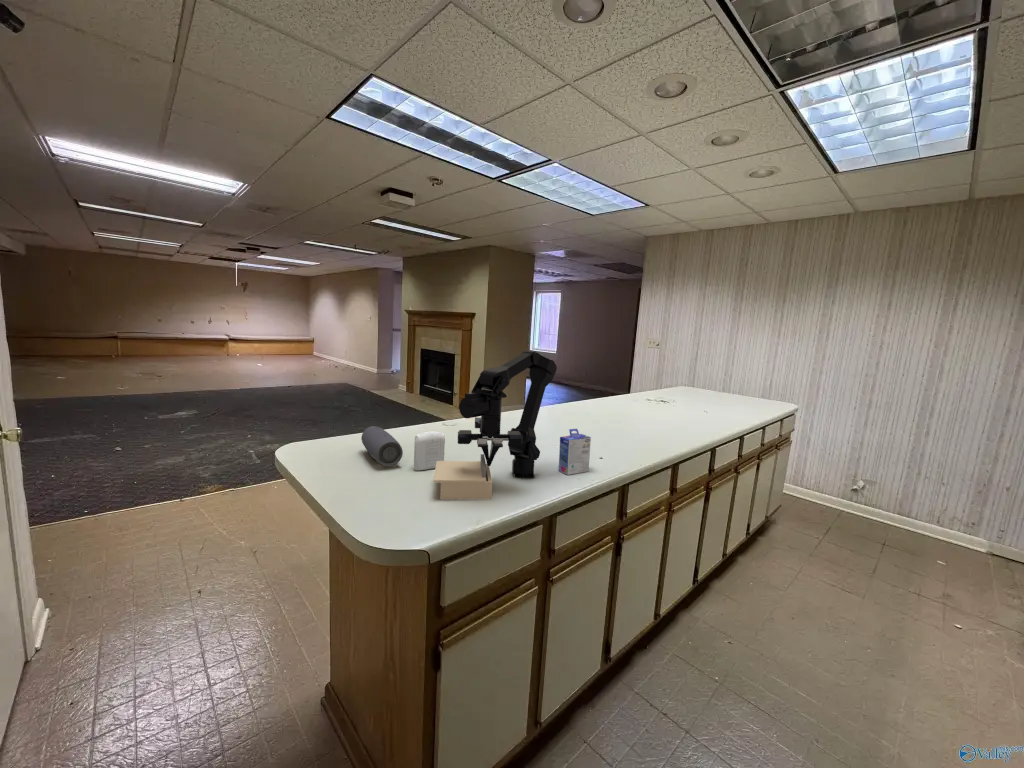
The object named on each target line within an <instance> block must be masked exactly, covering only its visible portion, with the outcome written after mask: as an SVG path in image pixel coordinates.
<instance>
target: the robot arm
mask: <svg viewBox="0 0 1024 768" xmlns="http://www.w3.org/2000/svg"><path fill="white" fill-rule="evenodd" d="M555 362H556V361H554V360H553V359H550V358H547V357H546V356H543V355H541V354H540V353H539V352H537V351H535V350H524V351H522V353H520V354H519V355H518V356H515V357H514V358H512V359H511V360H509V361H507V362H506V363H504V364H502V365H500V366H494V367H490V368H487V369H483V370H482V371H481V372H480V374H479V377H478V379H477V380H476V381H475V384H474V386H473V387H472V389H471V392H465V393H464V397H463V398H462V399H461V400H460V403H459V404H458V409H459V413H460V415H461V417H463V418H464V419H473V418H474V429H479V433H473V432H472V429H459V430H458V432H457V444H458V445H469V444H471V443H472V441H476V444H477V448H481V450H482V452H483V454H484V457H485V462H486V464H487V466H489V467H491V466H492V463H493V461H494V459H495V456H496V455H497V452H498V451H499V449H500V448H504V445H503V443H504V442H506V441H508V442H507V446H508V450H509V455H510V456H514V458H513V459H512V461H511V463H512V464H511V472H512V475H513V476H514V478H517V479H518V478H521V479H525V478H527V479H528V478H529V479H530V478H535V476H536V475H535V474H534V471H535V461H537V460H538V459H539V458H540V455H541V450H540V449H539V448H538V446H537V444H536V443H537V436H536V432H535V426H536V423H537V418H538V415H539V412H540V408H541V405H542V402H543V398H544V394H545V390H546V388H547V387H548V385H550V383H552V382H553V379H554V377H555V375H556V372H557V369H558V367H557V364H556V363H555ZM527 369H528V370H529V373H528V376H529V379H530V387H529V390H528V393H527V396H526V400H525V404H524V407H523V409H522V415H521V417H520V420H519V423H518V425H517V426H516V427H515V428H514V427H512V428H511V429H510V430H507V433H501V424H502V423H501V421H502V417H501V416H502V402H503V401H502V399H504V398H507V396H508V395H507V394H506V393H505V392H504V390H505V389H506V388H507V387H508V386H509V385H510V382H511V380H512V379H513V378H515V377H516V376H517V375H519V374H521V373H522V372H524V371H526V370H527ZM488 441H490V442H491V443H490V451H489V444H488Z"/></svg>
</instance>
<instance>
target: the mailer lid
mask: <svg viewBox="0 0 1024 768" xmlns="http://www.w3.org/2000/svg"><path fill="white" fill-rule="evenodd" d="M486 464H487V462H486V458H485V455H484V453H481V454H480V460H479V461H475V460H474V461H472V460H471V461H468V460H467V461H466V460H463V461H462V460H444V461H437V462H436V468H434V475H433V483H441V482H464V483H486Z"/></svg>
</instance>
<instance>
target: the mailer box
mask: <svg viewBox="0 0 1024 768" xmlns="http://www.w3.org/2000/svg"><path fill="white" fill-rule="evenodd" d="M492 493H493V479H492V474H491V470H490V466H487V463H486V483H464V482H440V501H452V500H454V501H464V500H465V501H478V500H479V501H483V500H484V501H486V500H488V501H492V496H493V495H492Z"/></svg>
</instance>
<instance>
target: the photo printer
mask: <svg viewBox="0 0 1024 768" xmlns="http://www.w3.org/2000/svg"><path fill="white" fill-rule="evenodd" d="M445 444H446V438H445V434H444V433H443V432H440V431H433V430H431V431H424V432H420V433H418V434H416V435H415V436H414V448H413V449H414V450H413V453H414V455H413V469H414V471H424V470H426V471H427V470H430V469H431V470H432V469H435V468H436V462H437V461H445V448H446V447H445V446H446V445H445Z"/></svg>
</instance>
